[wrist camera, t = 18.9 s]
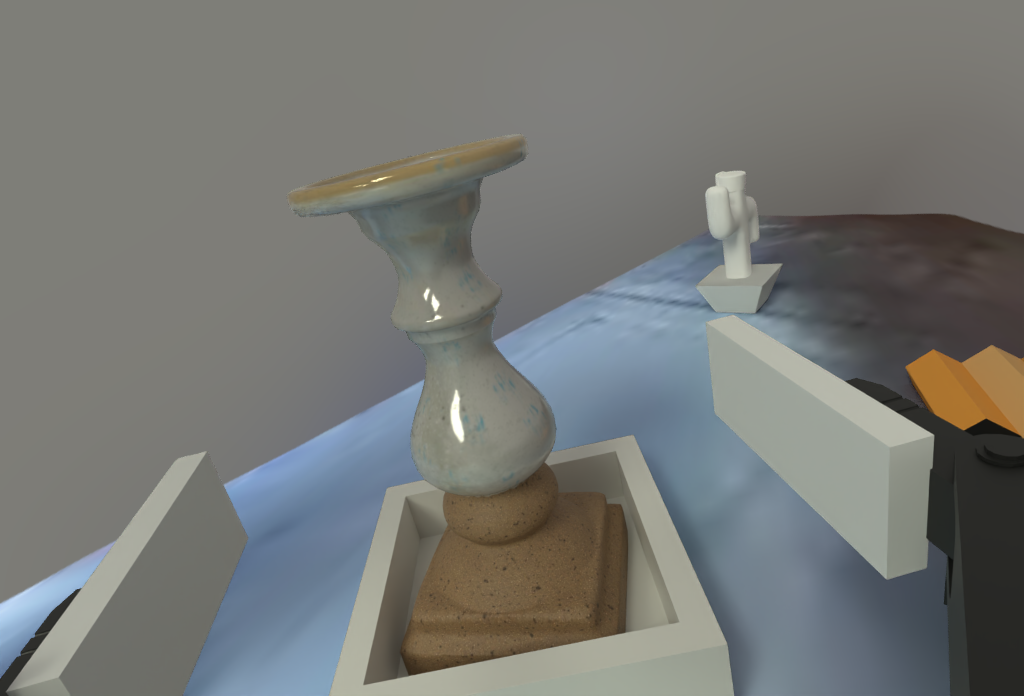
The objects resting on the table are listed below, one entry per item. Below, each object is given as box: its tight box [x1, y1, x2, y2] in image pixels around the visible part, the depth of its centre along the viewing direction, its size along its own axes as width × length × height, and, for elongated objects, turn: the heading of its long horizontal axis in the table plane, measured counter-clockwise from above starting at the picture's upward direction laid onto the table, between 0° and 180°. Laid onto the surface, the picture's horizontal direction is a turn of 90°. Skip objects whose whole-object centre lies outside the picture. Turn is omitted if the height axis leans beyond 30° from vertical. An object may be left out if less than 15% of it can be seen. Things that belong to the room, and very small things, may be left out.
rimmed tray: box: [329, 435, 734, 696], centre depth 33 cm, size 17×17×4 cm
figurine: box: [695, 171, 783, 313], centre depth 65 cm, size 7×9×15 cm
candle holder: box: [287, 134, 628, 676], centre depth 29 cm, size 11×11×24 cm
